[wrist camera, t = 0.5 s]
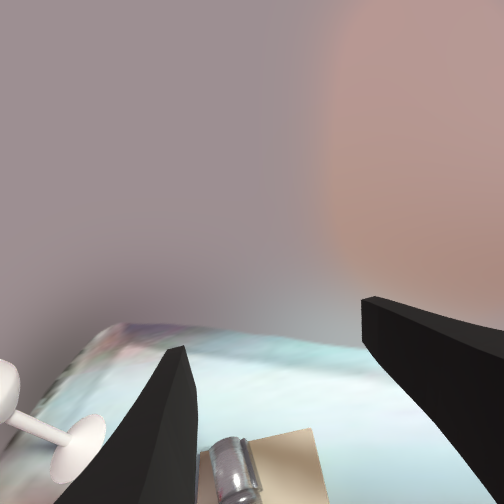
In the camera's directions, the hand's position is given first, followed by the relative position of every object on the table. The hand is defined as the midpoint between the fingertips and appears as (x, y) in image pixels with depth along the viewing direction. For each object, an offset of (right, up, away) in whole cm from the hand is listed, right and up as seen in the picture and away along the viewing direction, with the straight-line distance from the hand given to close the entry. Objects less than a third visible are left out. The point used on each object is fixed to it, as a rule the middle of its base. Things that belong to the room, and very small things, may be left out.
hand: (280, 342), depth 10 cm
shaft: (-2, -17, +13) cm, 21 cm away
